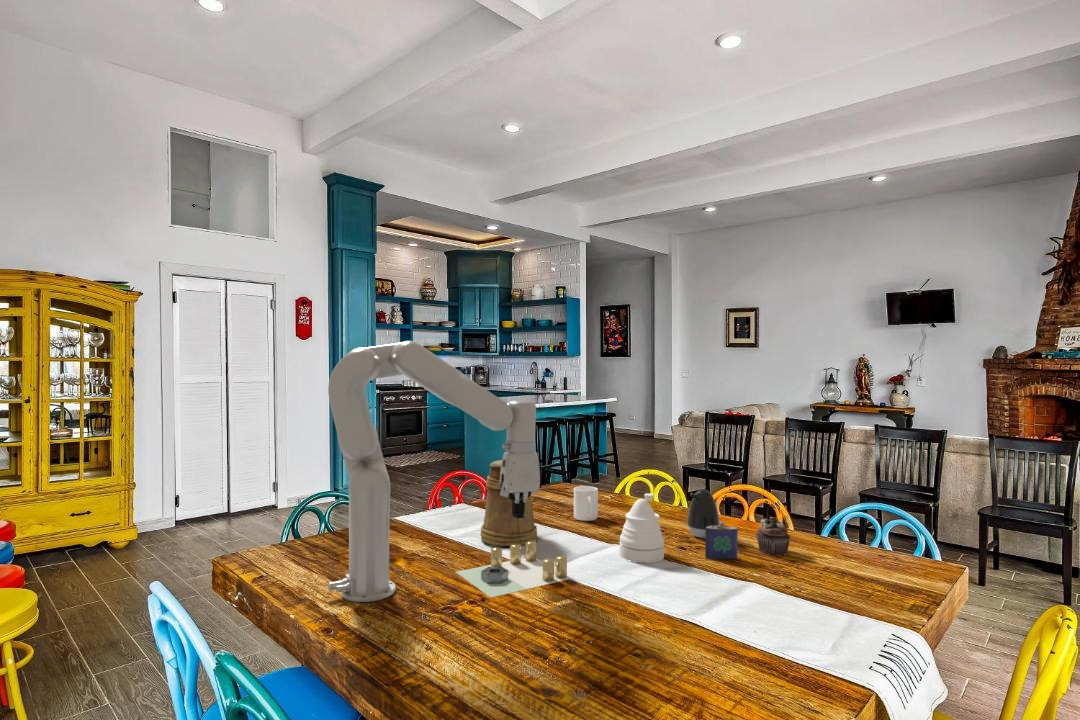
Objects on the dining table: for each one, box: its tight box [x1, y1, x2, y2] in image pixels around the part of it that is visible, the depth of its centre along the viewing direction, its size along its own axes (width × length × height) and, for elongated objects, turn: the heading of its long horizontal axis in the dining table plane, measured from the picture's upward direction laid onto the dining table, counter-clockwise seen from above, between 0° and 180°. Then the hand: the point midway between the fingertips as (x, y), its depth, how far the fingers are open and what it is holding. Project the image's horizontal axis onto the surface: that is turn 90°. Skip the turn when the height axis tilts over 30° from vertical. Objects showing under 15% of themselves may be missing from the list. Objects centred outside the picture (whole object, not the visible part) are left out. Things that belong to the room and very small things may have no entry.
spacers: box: [490, 540, 568, 582], centre depth 162 cm, size 14×18×5 cm
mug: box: [573, 485, 599, 522], centre depth 217 cm, size 9×12×11 cm
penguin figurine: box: [686, 488, 721, 539], centre depth 197 cm, size 10×10×15 cm
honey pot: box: [619, 493, 665, 563], centre depth 178 cm, size 13×13×18 cm
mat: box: [455, 557, 573, 598], centre depth 159 cm, size 24×20×1 cm
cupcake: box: [755, 517, 791, 556], centre depth 182 cm, size 10×10×10 cm
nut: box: [481, 567, 508, 584], centre depth 156 cm, size 6×7×2 cm
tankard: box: [480, 459, 538, 547], centre depth 195 cm, size 18×24×25 cm
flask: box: [704, 521, 739, 561], centre depth 175 cm, size 9×3×11 cm, turn 88°
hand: (518, 517), depth 160 cm, fingers closed
